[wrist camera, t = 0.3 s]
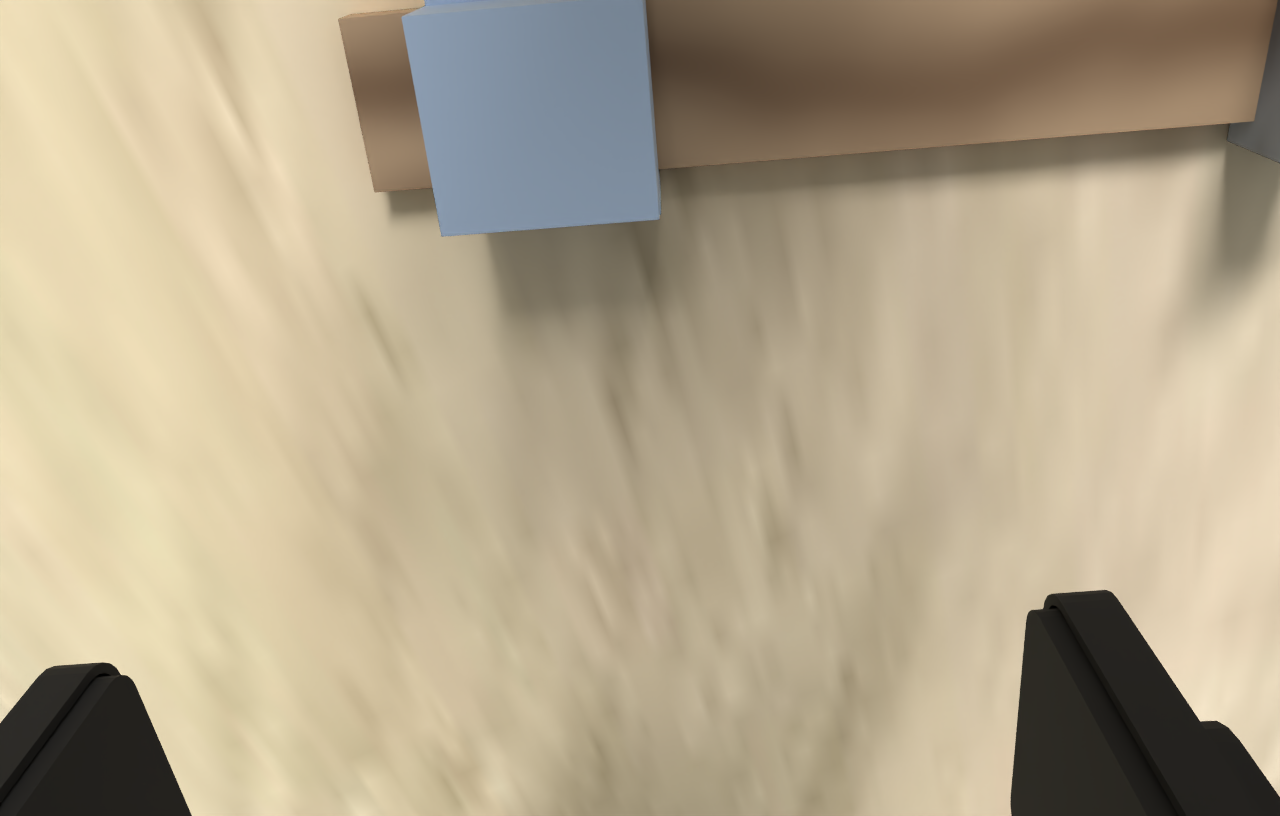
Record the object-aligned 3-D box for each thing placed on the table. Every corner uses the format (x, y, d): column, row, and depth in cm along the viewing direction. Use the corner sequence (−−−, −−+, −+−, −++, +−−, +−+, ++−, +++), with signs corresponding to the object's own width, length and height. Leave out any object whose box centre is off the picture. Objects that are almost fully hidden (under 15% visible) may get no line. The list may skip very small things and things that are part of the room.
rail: (343, -17, 34) (286, -1, 29) (1349, -109, 33) (1484, -112, 27) (390, 207, 38) (346, 257, 33) (1296, 135, 36) (1406, 175, 31)
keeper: (440, -28, 34) (395, -14, 28) (642, -47, 34) (639, -36, 28) (478, 205, 38) (445, 260, 32) (660, 190, 37) (661, 244, 32)
